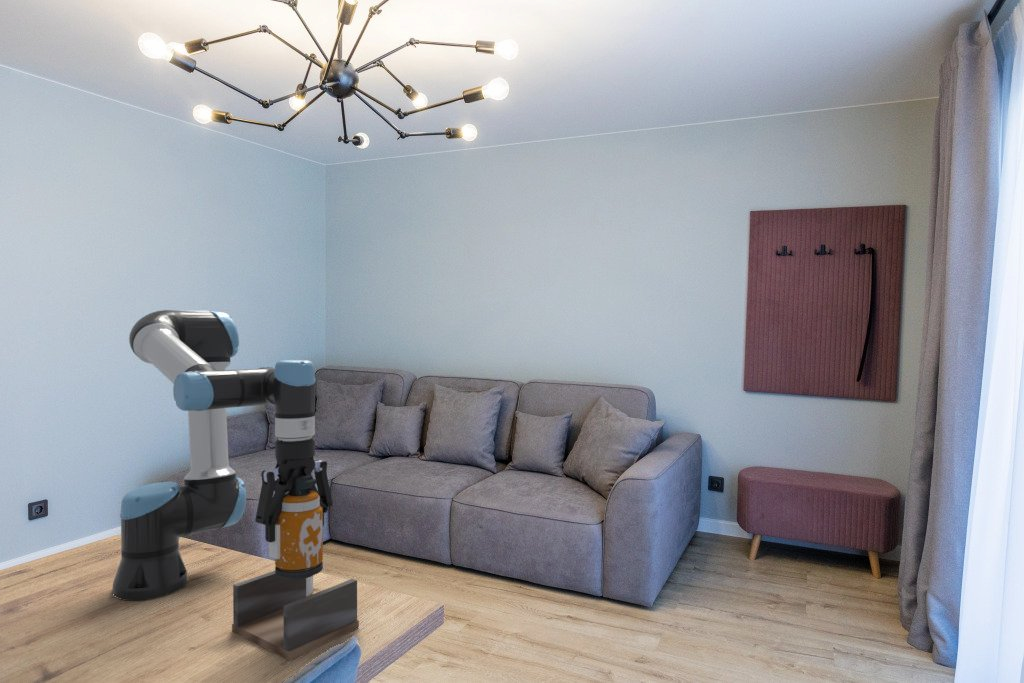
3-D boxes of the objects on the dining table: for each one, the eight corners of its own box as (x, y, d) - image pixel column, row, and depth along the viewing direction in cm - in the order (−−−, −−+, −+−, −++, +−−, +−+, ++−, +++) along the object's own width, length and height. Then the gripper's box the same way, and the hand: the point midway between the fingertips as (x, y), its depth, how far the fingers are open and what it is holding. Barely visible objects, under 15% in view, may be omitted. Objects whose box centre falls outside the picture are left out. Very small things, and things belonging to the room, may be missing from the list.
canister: (296, 585, 122) (295, 480, 122) (258, 574, 128) (258, 473, 128) (332, 571, 130) (332, 471, 130) (295, 560, 136) (295, 465, 136)
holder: (232, 631, 129) (231, 584, 128) (300, 603, 142) (300, 560, 141) (290, 660, 118) (290, 608, 117) (358, 627, 131) (358, 580, 130)
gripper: (257, 447, 118) (257, 570, 118) (350, 432, 135) (351, 539, 136) (233, 443, 122) (234, 562, 123) (327, 429, 140) (328, 533, 140)
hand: (295, 550), depth 129 cm, fingers closed on canister, 9 cm apart
